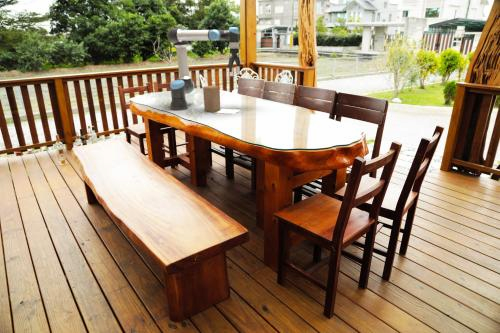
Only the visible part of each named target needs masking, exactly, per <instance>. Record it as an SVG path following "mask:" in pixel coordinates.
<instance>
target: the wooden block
mask: <svg viewBox="0 0 500 333" xmlns="http://www.w3.org/2000/svg"><path fill="white" fill-rule="evenodd" d="M202 90H203V107H204V108H203V109H204V110H203V111H205V112H210V113H216V112H218V111H220V110H221V93H220V92H221V91H220V86H218V85H206V86H203V87H202Z"/></svg>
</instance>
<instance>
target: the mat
mask: <svg viewBox="0 0 500 333" xmlns="http://www.w3.org/2000/svg"><path fill="white" fill-rule="evenodd" d="M240 111H241V109H229V108H220V110H219V111H215V113H216V114H226V115H227V114H230V115H235V114H237V113H239V112H240Z"/></svg>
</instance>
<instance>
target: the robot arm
mask: <svg viewBox="0 0 500 333" xmlns="http://www.w3.org/2000/svg"><path fill="white" fill-rule="evenodd" d="M166 33H167V34H166V35H167V40H168V41H169V42H170V43H172V44H173V46H174V47H175V50H176V57H177V58H176V59H177V65H178V74H179V76H178V78H177V79H176V80H172V81H171V82H170V83H169V84H170V85H169V87H170V95H171V102H170V105H169V106H170V110H173V111H181V110H182V111H183V110H187V109H189V104H188V101H187V100H186V95H188V94H190V93H192V92H193V91H194V90H195V83H194V81H193V79H192V77H191V76H190V71H189V69H190V68H189V61H188V59H189V58H188V51H187V47H188V45H189V44H188V42H189V41H213V42H216V41H228V42H229V57H228V59H229V60H228V64H227V68H228V69H229V70H228V71H229V77H234V68H233V66H234V62H235V65H236V66H235V68H236V69H235V70H236V75H240V72H241V71H240V69H241V68H240V67H241V66H242V64H241V60H240V59H241V58H240V54H239V53H240V47H239V46H240V41H239V39H240V37H239V36H240V32H239V27H234V26H233V27H229V28H228V29H226V30H225V29H199V30H198V29H191V30H190V29H185V28H182V27H171V28H170V29H168V31H167V32H166Z"/></svg>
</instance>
